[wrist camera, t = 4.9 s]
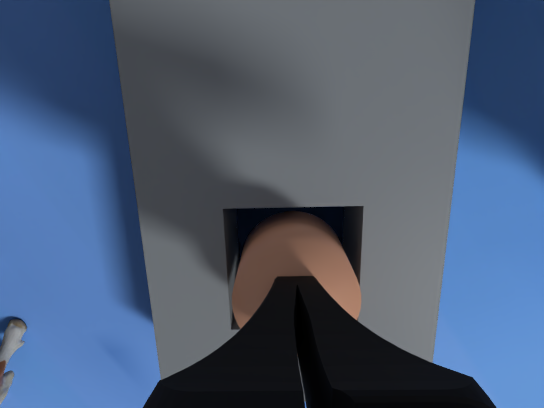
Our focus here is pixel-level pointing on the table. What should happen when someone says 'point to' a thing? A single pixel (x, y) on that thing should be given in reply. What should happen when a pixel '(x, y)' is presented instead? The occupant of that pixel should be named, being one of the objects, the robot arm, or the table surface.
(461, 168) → the table surface
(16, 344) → the bull figurine
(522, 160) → the table surface
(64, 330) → the table surface
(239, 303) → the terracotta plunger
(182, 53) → the block
